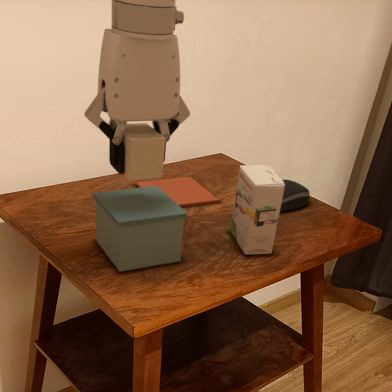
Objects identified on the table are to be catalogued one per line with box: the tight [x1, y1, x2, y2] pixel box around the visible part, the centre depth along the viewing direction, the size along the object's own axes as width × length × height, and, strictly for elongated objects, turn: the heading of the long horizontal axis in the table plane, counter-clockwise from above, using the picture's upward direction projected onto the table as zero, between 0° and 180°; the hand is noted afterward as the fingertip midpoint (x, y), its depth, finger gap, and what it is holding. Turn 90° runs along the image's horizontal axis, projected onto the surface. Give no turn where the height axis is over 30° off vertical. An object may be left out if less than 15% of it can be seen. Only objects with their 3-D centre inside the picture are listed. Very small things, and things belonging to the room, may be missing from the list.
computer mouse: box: [280, 179, 311, 213], centre depth 103 cm, size 7×12×4 cm, turn 129°
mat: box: [135, 176, 220, 208], centre depth 103 cm, size 12×12×1 cm
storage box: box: [92, 186, 188, 273], centre depth 81 cm, size 11×11×8 cm
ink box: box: [229, 163, 285, 256], centre depth 86 cm, size 8×5×12 cm, turn 14°
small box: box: [122, 122, 165, 182], centre depth 74 cm, size 5×6×6 cm
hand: (137, 167), depth 76 cm, fingers closed on small box, 5 cm apart
